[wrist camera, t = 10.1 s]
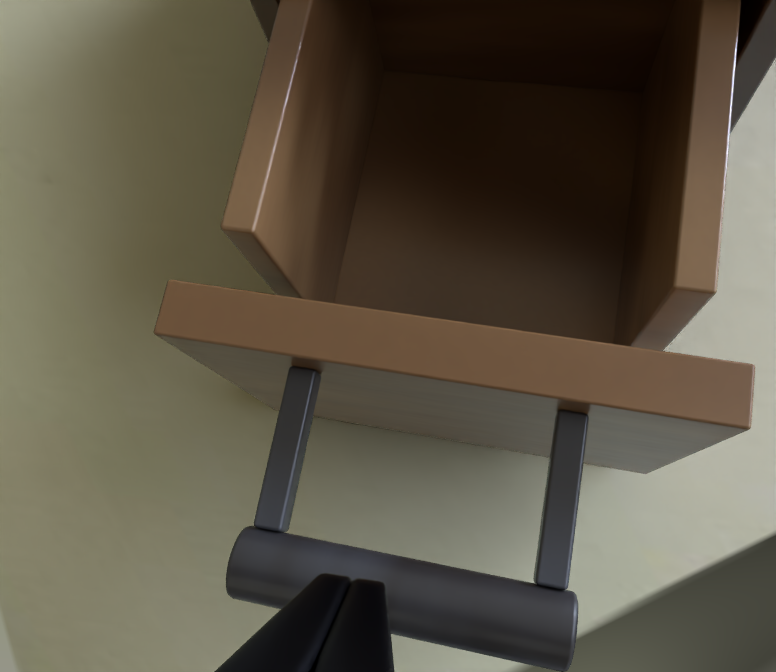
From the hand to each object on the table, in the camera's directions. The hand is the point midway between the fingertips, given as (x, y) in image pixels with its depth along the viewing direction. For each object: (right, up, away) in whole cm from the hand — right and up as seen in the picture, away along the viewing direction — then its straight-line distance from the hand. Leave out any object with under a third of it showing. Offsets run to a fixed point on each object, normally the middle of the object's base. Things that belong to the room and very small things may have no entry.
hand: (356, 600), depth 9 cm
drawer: (+3, +4, +14) cm, 15 cm away
